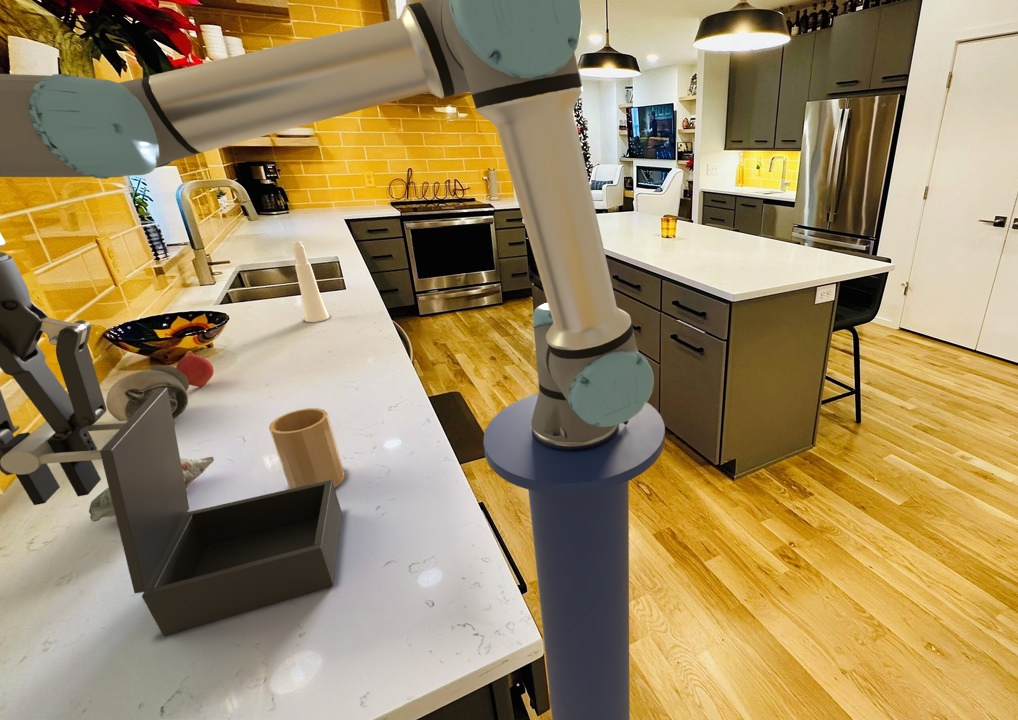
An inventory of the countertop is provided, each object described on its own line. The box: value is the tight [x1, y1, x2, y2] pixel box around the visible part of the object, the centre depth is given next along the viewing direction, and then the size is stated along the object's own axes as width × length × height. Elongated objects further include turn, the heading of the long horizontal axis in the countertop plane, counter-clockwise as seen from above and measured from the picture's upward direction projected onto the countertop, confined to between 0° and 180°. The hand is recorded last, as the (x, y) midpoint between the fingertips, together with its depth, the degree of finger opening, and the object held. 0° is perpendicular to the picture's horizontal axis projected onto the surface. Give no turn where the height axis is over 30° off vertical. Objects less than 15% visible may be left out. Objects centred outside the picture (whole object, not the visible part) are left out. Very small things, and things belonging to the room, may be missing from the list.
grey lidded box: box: [141, 480, 343, 637], centre depth 60 cm, size 16×14×6 cm
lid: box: [0, 388, 190, 594], centre depth 51 cm, size 16×14×9 cm
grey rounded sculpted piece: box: [105, 364, 190, 421], centre depth 89 cm, size 10×12×10 cm
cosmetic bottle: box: [291, 241, 330, 323], centre depth 140 cm, size 6×6×22 cm
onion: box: [175, 350, 215, 388], centre depth 103 cm, size 6×6×8 cm
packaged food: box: [88, 456, 215, 523], centre depth 71 cm, size 9×12×5 cm
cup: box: [268, 407, 346, 489], centre depth 74 cm, size 7×7×11 cm
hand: (68, 491), depth 50 cm, fingers closed on lid, 2 cm apart
